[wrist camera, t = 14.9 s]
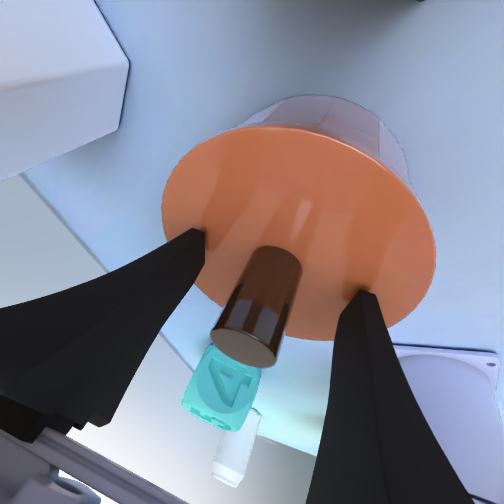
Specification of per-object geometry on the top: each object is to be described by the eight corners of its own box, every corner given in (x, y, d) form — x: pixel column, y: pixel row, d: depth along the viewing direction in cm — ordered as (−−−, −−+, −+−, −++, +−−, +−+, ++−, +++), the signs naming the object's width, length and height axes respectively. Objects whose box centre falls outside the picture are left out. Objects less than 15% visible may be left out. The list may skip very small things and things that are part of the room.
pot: (416, 250, 15) (429, 335, 11) (265, 265, 21) (238, 325, 17) (392, 45, 10) (400, 69, 6) (197, 140, 15) (133, 185, 11)
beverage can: (248, 415, 55) (226, 483, 47) (228, 401, 54) (202, 470, 46) (267, 417, 51) (246, 493, 43) (247, 402, 49) (221, 479, 41)
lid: (439, 329, 11) (464, 465, 8) (238, 320, 18) (204, 395, 14) (416, 33, 6) (472, 65, 2) (130, 173, 12) (28, 239, 8)
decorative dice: (212, 335, 34) (181, 396, 28) (266, 361, 33) (244, 429, 28) (206, 355, 40) (179, 409, 34) (252, 377, 39) (232, 436, 34)
